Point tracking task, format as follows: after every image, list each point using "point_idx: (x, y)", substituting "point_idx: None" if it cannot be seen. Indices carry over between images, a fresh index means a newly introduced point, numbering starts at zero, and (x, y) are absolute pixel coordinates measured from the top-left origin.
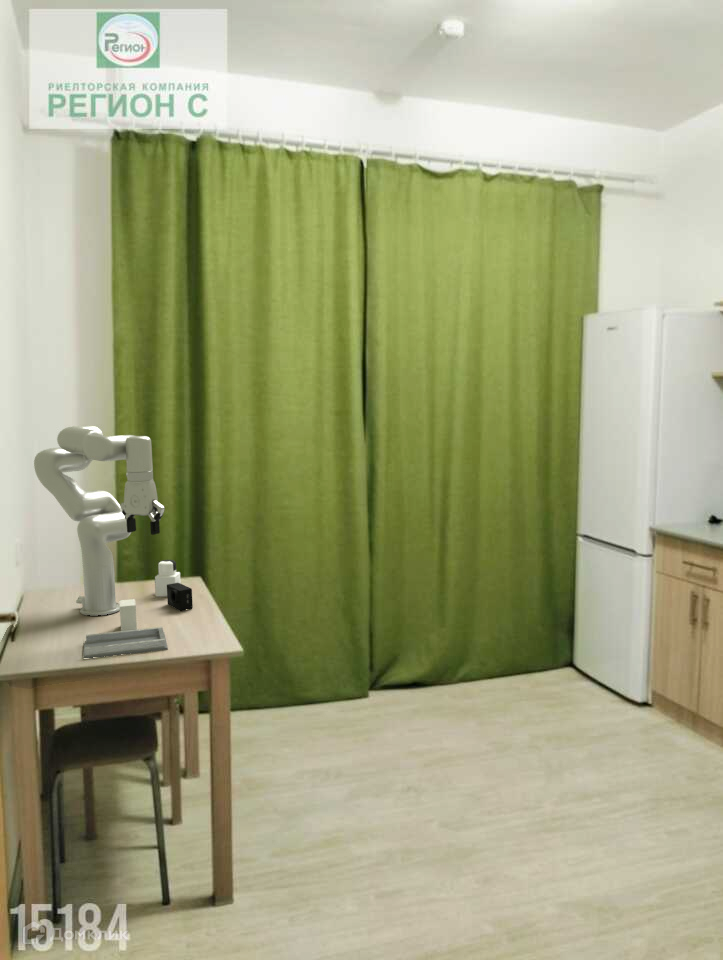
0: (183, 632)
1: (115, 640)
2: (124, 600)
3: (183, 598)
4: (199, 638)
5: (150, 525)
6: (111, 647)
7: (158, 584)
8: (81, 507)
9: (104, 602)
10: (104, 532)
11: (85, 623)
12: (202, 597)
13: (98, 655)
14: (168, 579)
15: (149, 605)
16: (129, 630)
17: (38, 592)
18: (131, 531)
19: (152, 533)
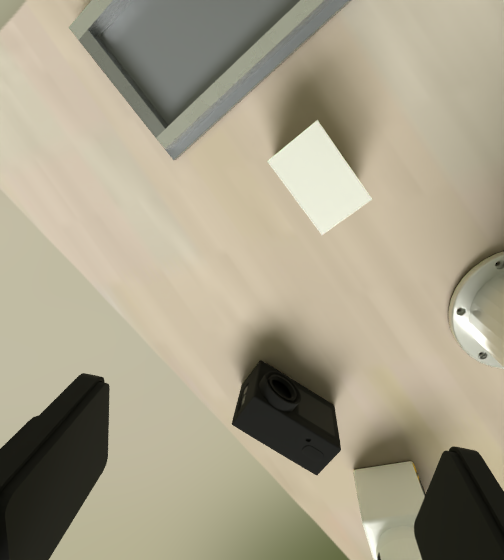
0: (136, 194)
1: (268, 28)
2: (351, 206)
3: (251, 387)
4: (62, 160)
5: (41, 457)
6: None
7: (412, 492)
8: None
9: (499, 293)
10: None
11: (494, 176)
12: (275, 474)
13: None
14: (382, 512)
15: (383, 387)
16: (240, 73)
17: None
18: (435, 478)
19: (76, 380)
